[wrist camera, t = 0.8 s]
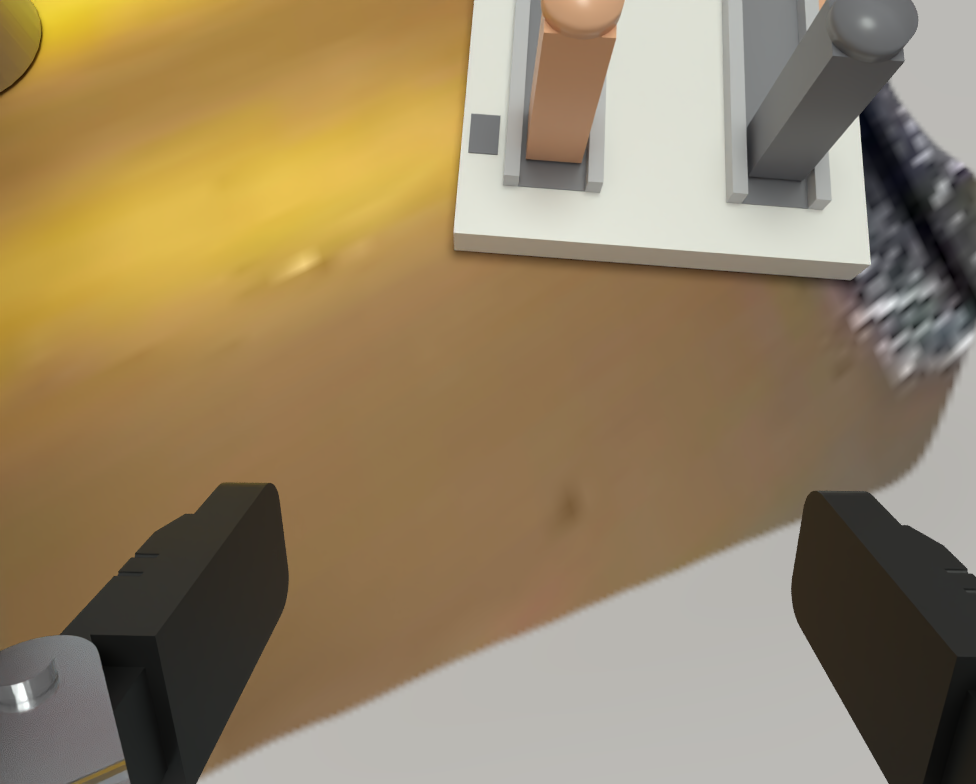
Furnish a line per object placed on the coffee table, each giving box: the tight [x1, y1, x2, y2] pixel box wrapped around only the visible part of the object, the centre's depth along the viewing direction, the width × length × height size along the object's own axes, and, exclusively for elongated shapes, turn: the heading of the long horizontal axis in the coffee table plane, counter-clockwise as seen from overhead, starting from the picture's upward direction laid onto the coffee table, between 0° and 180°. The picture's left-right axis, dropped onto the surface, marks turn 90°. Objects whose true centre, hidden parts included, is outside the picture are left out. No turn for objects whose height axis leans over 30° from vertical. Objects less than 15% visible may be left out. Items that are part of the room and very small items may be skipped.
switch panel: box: [454, 0, 871, 280], centre depth 40 cm, size 22×22×3 cm
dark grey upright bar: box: [746, 0, 918, 181], centre depth 33 cm, size 3×3×10 cm
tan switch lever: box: [526, 0, 625, 163], centre depth 33 cm, size 3×3×10 cm
